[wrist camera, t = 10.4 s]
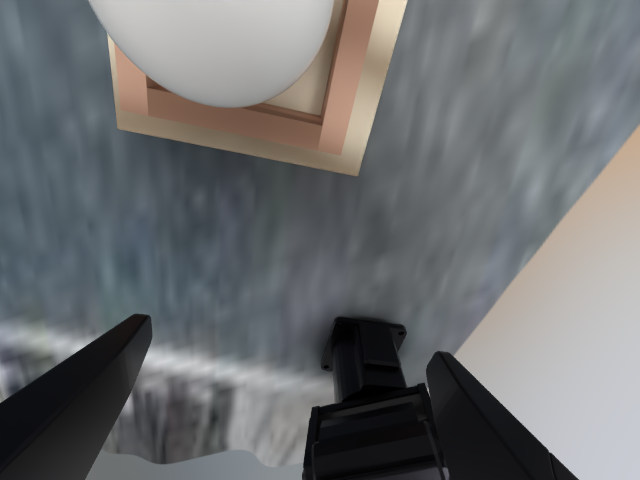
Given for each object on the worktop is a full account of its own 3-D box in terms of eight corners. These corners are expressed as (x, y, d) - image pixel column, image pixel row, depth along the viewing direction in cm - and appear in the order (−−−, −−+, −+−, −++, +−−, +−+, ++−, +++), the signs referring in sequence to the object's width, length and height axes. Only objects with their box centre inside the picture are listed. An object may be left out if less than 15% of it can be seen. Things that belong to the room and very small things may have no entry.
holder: (355, 170, 20) (365, 195, 17) (128, 124, 19) (84, 141, 15) (440, -139, 14) (488, -209, 10) (93, -261, 12) (-4, -402, 8)
